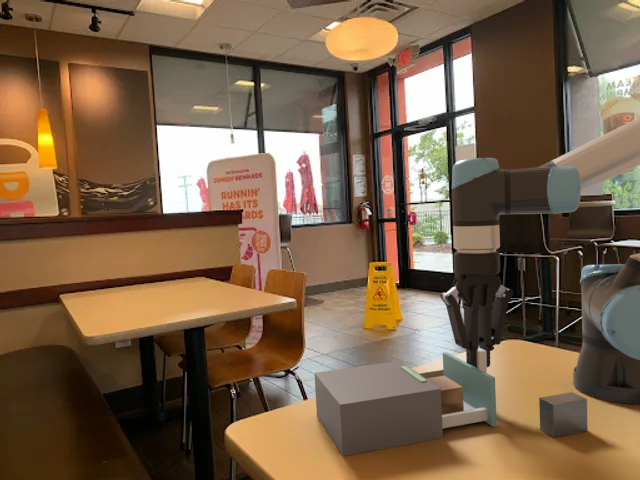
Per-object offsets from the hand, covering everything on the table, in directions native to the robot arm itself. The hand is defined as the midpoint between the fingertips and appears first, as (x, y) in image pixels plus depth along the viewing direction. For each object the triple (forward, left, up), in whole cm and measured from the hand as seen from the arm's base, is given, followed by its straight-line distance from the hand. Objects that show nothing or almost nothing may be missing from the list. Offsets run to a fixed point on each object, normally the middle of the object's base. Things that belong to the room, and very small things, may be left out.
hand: (478, 385), depth 85 cm
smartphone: (+4, -15, -4) cm, 16 cm away
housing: (+20, 0, -4) cm, 21 cm away
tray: (+10, 0, -3) cm, 11 cm away
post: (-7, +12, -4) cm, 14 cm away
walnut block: (+9, 0, -2) cm, 9 cm away
